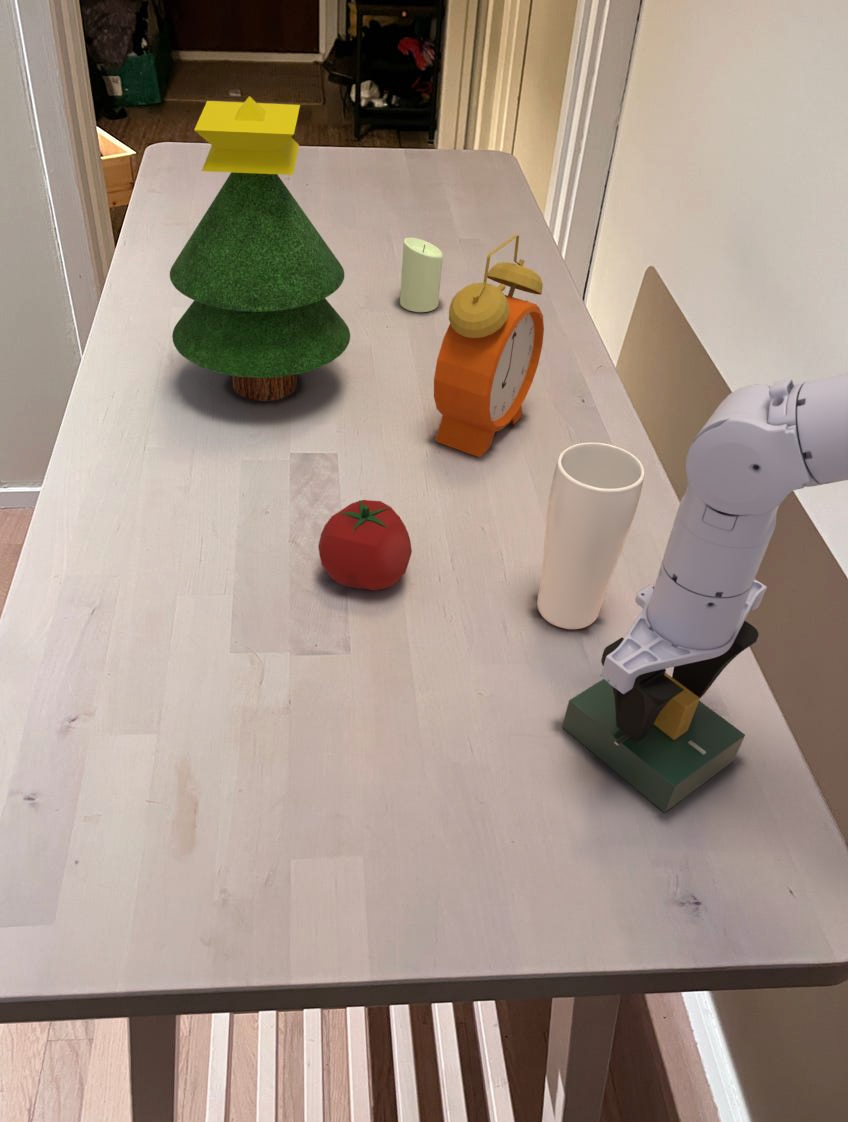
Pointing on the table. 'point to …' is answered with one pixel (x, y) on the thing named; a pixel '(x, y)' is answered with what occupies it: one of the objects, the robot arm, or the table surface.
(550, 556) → the drinking glass
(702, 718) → the knob panel
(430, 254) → the candle
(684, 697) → the yellow block
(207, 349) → the decorative tree
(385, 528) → the tomato
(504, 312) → the alarm clock
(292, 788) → the table surface
